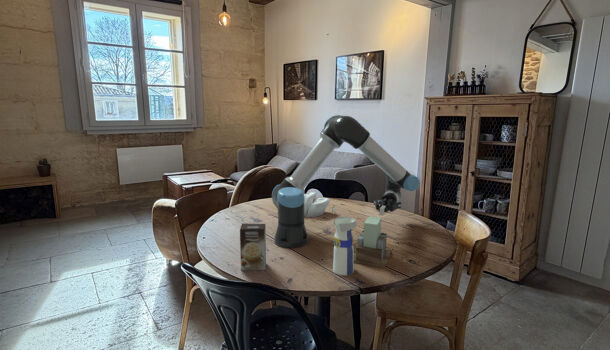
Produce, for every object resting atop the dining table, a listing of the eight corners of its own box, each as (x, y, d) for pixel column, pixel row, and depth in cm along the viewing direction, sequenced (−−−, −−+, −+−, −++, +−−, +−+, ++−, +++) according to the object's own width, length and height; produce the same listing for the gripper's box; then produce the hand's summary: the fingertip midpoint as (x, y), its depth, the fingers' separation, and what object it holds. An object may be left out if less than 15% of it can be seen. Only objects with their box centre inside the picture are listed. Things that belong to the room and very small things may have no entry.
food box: (240, 271, 122) (238, 229, 119) (242, 263, 128) (241, 223, 125) (265, 270, 123) (264, 228, 119) (266, 262, 129) (265, 222, 126)
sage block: (367, 248, 138) (369, 216, 135) (380, 250, 136) (381, 217, 134) (362, 257, 130) (364, 222, 127) (375, 259, 128) (377, 224, 125)
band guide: (360, 247, 143) (360, 227, 141) (391, 252, 138) (392, 231, 136) (351, 261, 129) (351, 239, 128) (385, 267, 124) (386, 244, 123)
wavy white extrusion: (266, 211, 194) (265, 194, 192) (280, 204, 209) (280, 188, 207) (322, 220, 180) (322, 200, 178) (332, 211, 194) (333, 194, 192)
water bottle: (343, 278, 116) (344, 209, 112) (327, 269, 123) (327, 203, 119) (359, 271, 121) (361, 205, 117) (343, 263, 128) (345, 200, 123)
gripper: (402, 208, 163) (396, 222, 142) (376, 205, 168) (365, 218, 147) (403, 193, 162) (397, 205, 140) (376, 191, 167) (366, 202, 145)
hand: (381, 212), depth 143 cm, fingers closed
